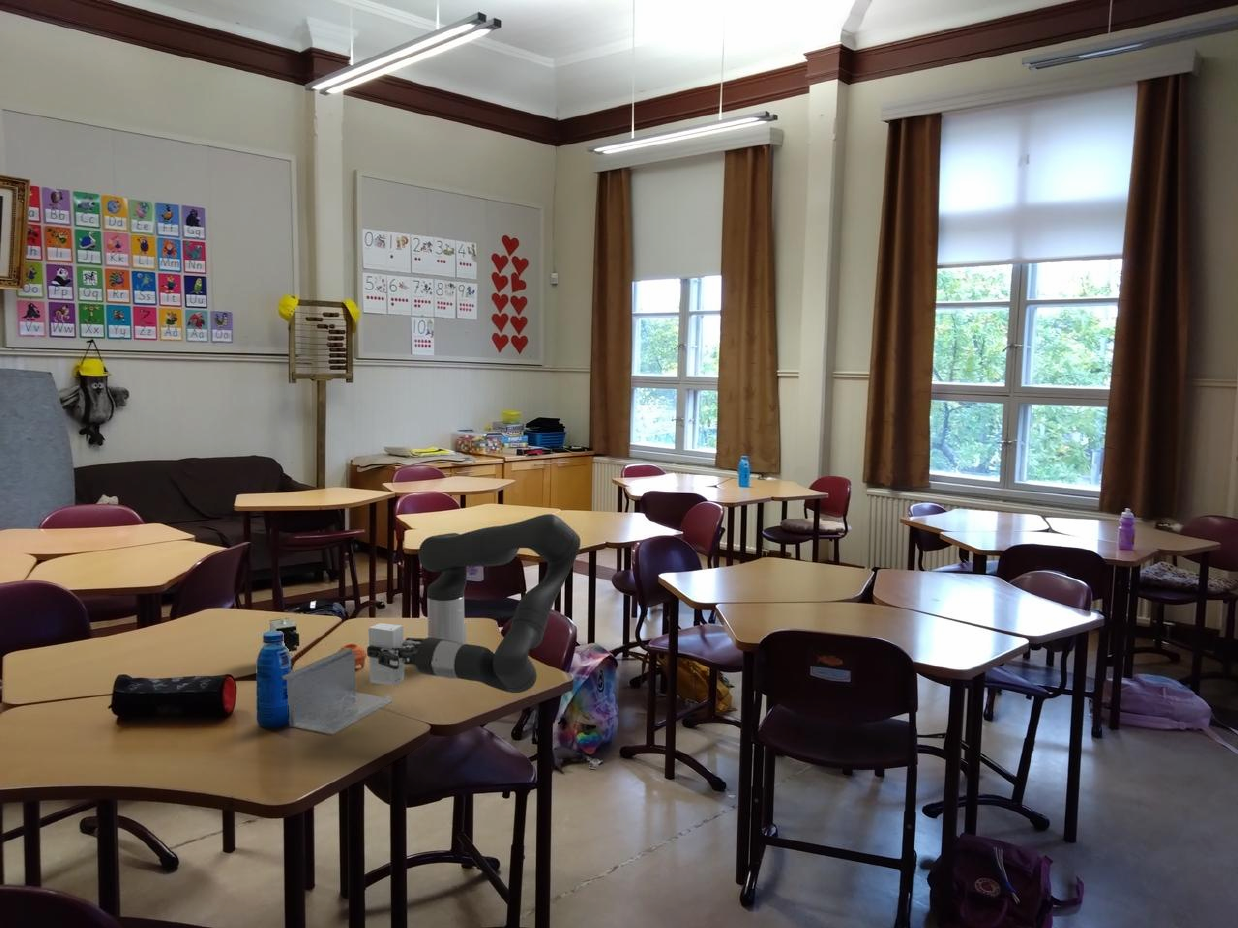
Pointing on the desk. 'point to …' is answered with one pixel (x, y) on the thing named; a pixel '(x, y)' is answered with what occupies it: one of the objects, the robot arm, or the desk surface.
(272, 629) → the pneumatic valve
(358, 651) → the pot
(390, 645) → the skincare box
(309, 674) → the bracket
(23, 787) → the desk surface
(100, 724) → the desk surface
